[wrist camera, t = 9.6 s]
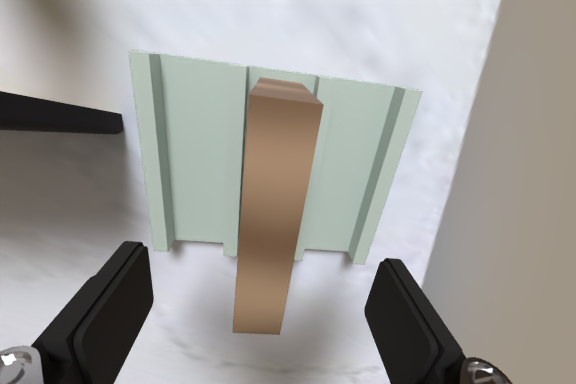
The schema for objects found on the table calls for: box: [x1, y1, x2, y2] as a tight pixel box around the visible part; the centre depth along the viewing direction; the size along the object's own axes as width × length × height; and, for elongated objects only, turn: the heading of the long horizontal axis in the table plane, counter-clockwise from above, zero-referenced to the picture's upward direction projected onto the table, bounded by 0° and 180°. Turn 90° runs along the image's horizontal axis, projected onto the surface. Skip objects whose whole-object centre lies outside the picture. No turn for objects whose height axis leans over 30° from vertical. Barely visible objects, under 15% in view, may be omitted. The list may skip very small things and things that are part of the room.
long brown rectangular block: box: [233, 77, 324, 335], centre depth 15 cm, size 12×3×8 cm, turn 172°
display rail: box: [128, 50, 423, 265], centre depth 18 cm, size 13×17×3 cm
